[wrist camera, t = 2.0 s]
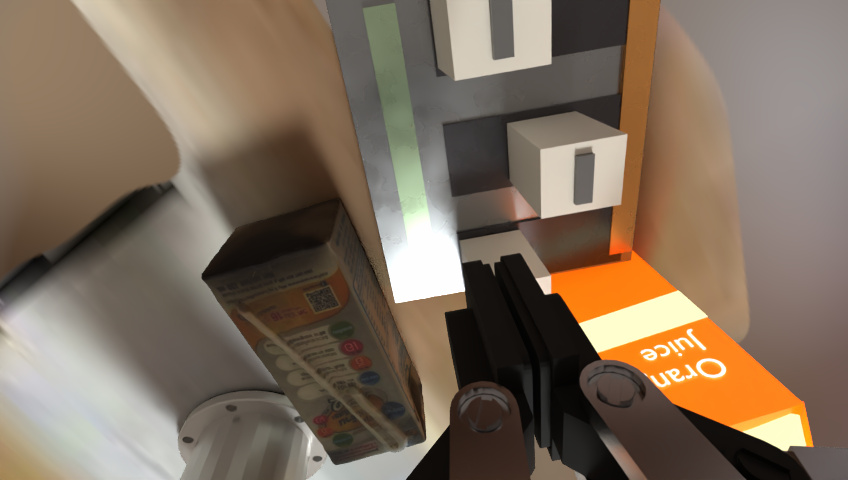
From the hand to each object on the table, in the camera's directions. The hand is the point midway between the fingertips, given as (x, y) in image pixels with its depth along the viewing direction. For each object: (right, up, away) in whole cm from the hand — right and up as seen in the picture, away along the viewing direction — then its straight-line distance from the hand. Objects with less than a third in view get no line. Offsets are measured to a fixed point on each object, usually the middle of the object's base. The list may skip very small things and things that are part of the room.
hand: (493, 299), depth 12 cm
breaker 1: (0, +13, +9) cm, 15 cm away
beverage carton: (-9, -4, +20) cm, 22 cm away
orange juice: (+11, -3, +21) cm, 24 cm away
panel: (+3, +8, +14) cm, 16 cm away
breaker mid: (+5, +7, +12) cm, 15 cm away
